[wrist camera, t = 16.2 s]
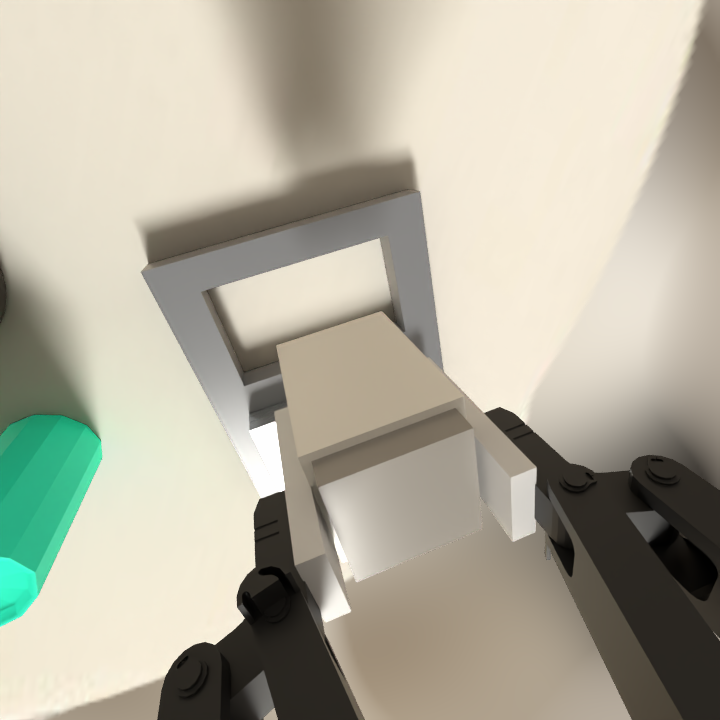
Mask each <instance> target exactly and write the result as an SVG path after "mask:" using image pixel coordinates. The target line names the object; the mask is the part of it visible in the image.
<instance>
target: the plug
mask: <svg viewBox="0 0 720 720" xmlns="http://www.w3.org/2000/svg"><path fill="white" fill-rule="evenodd" d="M276 347H277V353H278V358H279V363H280V368H281V373H282V378H283V384H284V389H285V394H286V399H287V404H288V409H289V415H290V420H291V425H292V430H293V435H294V440H295V446H296V451H297V456H298V459H299V462H300V464H301V466H302V469H303V471H304V473H305V476H306V478H307V481H308V483H309V485H310V486H311V488H312V490H313V493H314V495H315V497H316V500H317V502H318V505H319V507H320V509H321V512H322V514H323V516H324V519H325V521H326V524H327V526H328V528H329V531H330V533H331V535H332V538H333V540H334V543H335V547H336V550H337V552H338V554H339V557H340V559H341V561H342V563H344V562H346V561H348V563H349V566H350V568H351V571H352V573H353V576H354V578H355V581H356V582H359V581H361V580H364V579H366V578H368V577H371V576H373V575H375V574H378V573H380V572H383V571H385V570H387V569H390V568H392V567H394V566H397V565H399V564H401V563H404V562H406V561H409V560H411V559H413V558H416V557H418V556H420V555H423V554H425V553H428V552H430V551H432V550H435V549H437V548H439V547H442V546H444V545H447V544H449V543H451V542H454V541H456V540H459V539H461V538H463V537H466V536H468V535H470V534H473V533H475V532H477V531H480V530H482V529H483V525H482V514H481V503H480V492H479V481H478V471H477V460H476V449H475V438H474V428H473V427H472V426H471V425H470V423H469V422H468V421H467V420H466V410H465V401H464V396H463V395H462V394H461V393H460V391H459V390H458V389H457V388H456V387H455V386H454V385H453V384H452V383H451V382H450V381H449V380H448V379H447V378H446V377H445V376H444V375H443V374H442V373H441V372H440V371H439V370H438V369H437V368H436V367H435V366H434V365H433V363H432V362H431V361H430V360H429V359H428V358H427V357H426V356H425V355H424V354H423V353H422V352H421V351H420V350H419V349H418V348H417V347H416V346H415V345H414V344H413V343H412V342H411V341H410V340H409V339H408V338H407V337H406V335H405V334H404V333H403V332H402V331H401V330H400V329H399V328H398V327H397V326H396V325H395V324H394V323H393V322H392V321H391V320H390V319H389V318H388V317H387V316H386V315H385V314H384V313H383V312H382V311H380V312H377V313H374V314H371V315H368V316H365V317H361V318H358V319H355V320H352V321H349V322H346V323H343V324H340V325H337V326H334V327H331V328H328V329H325V330H322V331H319V332H315V333H312V334H309V335H306V336H303V337H300V338H297V339H294V340H291V341H288V342H285V343H282V344H279V345H276Z"/></svg>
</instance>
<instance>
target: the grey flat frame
mask: <svg viewBox="0 0 720 720" xmlns="http://www.w3.org/2000/svg"><path fill="white" fill-rule="evenodd" d="M378 238H380V241H381V247H382V252H383V257H384V262H385V268H386V273H387V278H388V283H389V288H390V294H391V299H392V304H393V309H394V314H395V320H396V322H394V324H395V325H396V326H397V327H398V328H399V329H400V330H401V331H402V332H403V333H404V334H405V335H406V337H407V338H408V339H409V340H410V341H411V342H412V343H413V344H414V345H415V346H416V347H417V348H418V349H419V350H420V351H421V352H422V353H423V354H424V355H425V356H426V357H427V358H428V357H430V358H431V359H432V360H433V362H434V363H435V364H436V365H437V366H438V367H439V368H440V369H441V370H442V371H443V364H442V356H441V348H440V341H439V333H438V325H437V318H436V310H435V302H434V295H433V287H432V279H431V272H430V264H429V257H428V249H427V241H426V234H425V226H424V218H423V211H422V203H421V195H420V191H414V190H404V191H401V192H397V193H394V194H390V195H387V196H383V197H380V198H376V199H373V200H369V201H366V202H362V203H359V204H355V205H352V206H348V207H345V208H341V209H338V210H334V211H331V212H327V213H324V214H320V215H317V216H314V217H310V218H307V219H303V220H300V221H296V222H293V223H289V224H286V225H282V226H279V227H275V228H272V229H268V230H265V231H261V232H258V233H254V234H251V235H247V236H244V237H240V238H237V239H233V240H230V241H226V242H223V243H219V244H216V245H212V246H209V247H205V248H202V249H198V250H195V251H191V252H188V253H184V254H181V255H177V256H174V257H170V258H167V259H163V260H160V261H157V262H153V263H150V264H148V265H147V266H146V267H145V268H144V269H143V270H142V271H141V273H142V275H143V277H144V279H145V281H146V283H147V285H148V286H149V288H150V290H151V292H152V294H153V296H154V298H155V300H156V301H157V303H158V305H159V307H160V309H161V311H162V313H163V315H164V316H165V318H166V320H167V322H168V324H169V326H170V328H171V330H172V331H173V333H174V335H175V337H176V339H177V341H178V343H179V345H180V346H181V348H182V350H183V352H184V354H185V356H186V358H187V360H188V362H189V363H190V365H191V367H192V369H193V371H194V373H195V375H196V377H197V378H198V380H199V382H200V384H201V386H202V388H203V390H204V392H205V393H206V395H207V397H208V399H209V401H210V403H211V405H212V407H213V408H214V410H215V412H216V414H217V416H218V418H219V420H220V422H221V423H222V425H223V427H224V429H225V431H226V433H227V435H228V437H229V438H230V440H231V442H232V444H233V446H234V448H235V450H236V452H237V453H238V455H239V457H240V459H241V461H242V463H243V465H244V467H245V468H246V470H247V472H248V474H249V476H250V478H251V480H252V482H253V484H254V485H255V487H256V489H257V491H258V493H259V495H260V497H261V498H264V497H266V496H269V495H271V494H274V493H277V492H279V490H278V488H277V486H276V484H275V482H274V480H273V478H272V476H271V474H270V472H269V470H268V468H267V466H266V464H265V461H264V459H263V457H262V455H261V453H260V451H259V449H258V447H257V445H256V443H255V441H254V439H253V437H252V435H251V433H250V430H249V414H250V413H253V412H256V411H259V410H262V409H265V408H268V407H270V406H273V405H276V404H279V403H282V402H285V401H287V399H286V394H285V389H284V384H283V378H282V373H281V368H280V363H279V361H277V362H274V363H271V364H268V365H265V366H262V367H259V368H256V369H253V370H250V371H247V372H244V371H243V369H242V367H241V365H240V363H239V360H238V358H237V356H236V354H235V352H234V349H233V347H232V345H231V343H230V341H229V338H228V336H227V334H226V332H225V330H224V327H223V325H222V323H221V321H220V318H219V316H218V314H217V312H216V310H215V307H214V305H213V303H212V301H211V299H210V296H209V294H208V292H207V290H208V289H212V288H215V287H218V286H222V285H225V284H228V283H232V282H235V281H238V280H242V279H245V278H248V277H251V276H255V275H258V274H261V273H265V272H268V271H271V270H275V269H278V268H281V267H285V266H288V265H291V264H295V263H298V262H301V261H305V260H308V259H311V258H315V257H318V256H321V255H324V254H328V253H331V252H334V251H338V250H341V249H344V248H348V247H351V246H354V245H358V244H361V243H364V242H368V241H371V240H374V239H378ZM443 372H444V371H443Z"/></svg>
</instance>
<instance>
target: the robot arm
mask: <svg viewBox="0 0 720 720" xmlns="http://www.w3.org/2000/svg"><path fill="white" fill-rule="evenodd" d="M428 359H429V360H430V361H431V362H432V363H433V365H434V366H435V367H436V368H437V369H438V370H439V371H440V372H441V373H442V374H443V375H444V376H445V377H446V378H447V379H448V380H449V381H450V382H451V383H452V384H453V385H454V386H455V387H456V388H457V389H458V390H459V391H460V393H461V394H462V395H463V396H464V401H465V410H466V420H467V421H468V422H469V423H470V425H471V426H472V427H473V428H474V438H475V449H476V460H477V471H478V481H479V492H480V497H481V498H482V500H483V501H484V503H485V504H486V505H487V507H488V508H489V510H490V511H491V512H492V514H493V515H494V517H495V518H496V519H497V521H498V522H499V523H500V525H501V526H502V528H503V529H504V530H505V532H506V533H507V535H508V536H509V537H510V539H511V540H512V542H513V541H516V540H518V539H520V538H523V537H525V536H527V535H530V534H532V533H534V532H536V531H535V530H536V520H537V522H538V523H539V524H540V525H541V527H542V528H543V529H544V530H545V556H546V560H550V558H551V554H552V556H553V558H554V560H555V562H556V564H557V566H558V568H559V570H560V572H561V574H562V576H563V578H564V580H565V582H566V585H567V587H568V589H569V591H570V593H571V595H572V597H573V599H574V601H575V603H576V605H577V607H578V609H579V611H580V613H581V616H582V617H583V620H584V622H585V624H586V626H587V628H588V630H589V632H590V634H591V636H592V638H593V640H594V642H595V644H596V646H597V649H598V651H599V653H600V655H601V657H602V659H603V661H604V663H605V665H606V667H607V669H608V671H609V673H610V675H611V677H612V679H613V682H614V684H615V685H616V688H617V690H618V692H619V694H620V696H621V698H622V700H623V702H624V704H625V706H626V708H627V710H628V713H629V715H630V717H631V719H632V720H720V641H719V639H718V638H717V637H716V635H717V636H718V637H719V638H720V490H718V489H717V488H715V487H714V486H713V485H711V484H710V483H708V482H707V481H705V480H704V479H702V478H701V477H700V476H698V475H697V474H695V473H694V472H692V471H691V470H689V469H688V468H687V467H685V466H684V465H682V464H680V463H678V462H676V461H674V460H673V459H669V458H666V457H663V456H654V455H647V456H642V457H638V458H637V459H636V460H634V461H633V462H632V465H631V468H630V470H629V471H619V472H608V473H594V472H593V471H592V470H590V469H588V468H586V467H584V466H581V465H576V464H570V463H568V462H567V461H566V460H565V459H563V457H561V456H560V455H559V454H558V453H557V452H556V451H555V450H554V449H553V448H551V447H550V446H549V445H548V444H547V443H546V442H545V441H544V440H543V439H542V438H541V437H539V436H538V435H537V434H536V433H534V432H533V430H532V429H531V428H530V427H529V426H527V425H525V423H524V422H523V421H522V420H521V419H520V418H519V417H518V416H516V415H515V414H514V413H512V412H510V411H508V410H505V409H503V408H501V407H499V408H496V409H493V410H491V411H488V412H486V413H483V412H482V411H481V410H480V409H479V408H478V407H477V406H476V405H475V404H474V403H473V401H472V400H471V399H470V398H469V397H468V396H467V395H466V394H465V393H464V392H463V391H462V390H461V389H460V388H459V387H458V386H457V385H456V384H455V383H454V382H453V381H452V380H451V379H450V378H449V377H448V376H447V375H446V374H445V373H444V372H443V371H442V370H441V369H440V368H439V367H438V366H437V365H436V364H435V363H434V362H433V360H432V359H431V358H430V357H428ZM274 415H275V422H276V430H277V437H278V444H279V452H280V459H281V467H282V474H283V482H284V489H285V490H282V491H279V492H277V493H274V494H271V495H269V496H266V497H264V498H261V499H259V502H258V504H257V507H256V509H255V512H254V529H255V532H254V537H255V564H256V568H254V569H253V570H252V571H251V572H250V573H249V574H247V576H246V577H245V579H244V580H243V582H242V583H241V585H240V587H239V591H238V594H237V608H238V609H239V610H240V612H241V613H242V615H243V616H244V617H245V619H244V621H243V622H242V623H241V624H240V625H239V626H238V627H237V628H236V629H234V630H233V631H232V632H231V633H229V634H228V635H227V636H226V637H225V638H223V639H222V640H221V641H220V642H218V643H217V644H216V645H213V644H210V643H207V642H204V643H199V644H195V645H193V646H192V647H190V648H188V649H187V650H185V651H184V652H183V653H182V654H181V655H180V656H179V657H178V658H177V659H176V660H175V661H174V663H173V664H172V666H171V668H170V669H169V671H168V673H167V675H166V677H165V680H164V684H163V687H162V691H161V699H160V705H159V712H158V719H157V720H264V719H263V718H264V717H265V716H266V715H267V714H268V713H269V712H270V711H271V710H272V709H273V708H274V707H275V710H276V714H277V717H278V720H365V719H364V717H363V715H362V712H361V710H360V708H359V706H358V704H357V702H356V699H355V697H354V695H353V693H352V691H351V689H350V686H349V684H348V682H347V680H346V678H345V675H344V673H343V671H342V669H341V667H340V665H339V662H338V660H337V658H336V656H335V654H334V652H333V649H332V647H331V645H330V643H329V641H328V639H327V637H326V635H325V633H324V627H323V622H322V618H323V619H324V621H325V622H328V621H330V620H333V619H335V618H337V617H340V616H342V615H344V614H346V613H349V612H351V608H350V604H349V600H348V596H347V591H346V588H345V583H344V579H343V575H342V571H341V567H340V563H339V559H338V555H337V551H336V547H335V543H334V540H333V538H332V535H331V533H330V531H329V528H328V526H327V524H326V521H325V519H324V516H323V514H322V512H321V509H320V507H319V505H318V502H317V500H316V497H315V495H314V493H313V490H312V488H311V486H310V485H309V483H308V481H307V478H306V476H305V473H304V471H303V469H302V466H301V464H300V462H299V459H298V456H297V451H296V446H295V440H294V435H293V430H292V425H291V420H290V415H289V409H288V407H285V408H283V409H280V410H277V411H274ZM713 632H714V633H715V634H716V635H715V634H714V633H713Z"/></svg>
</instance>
